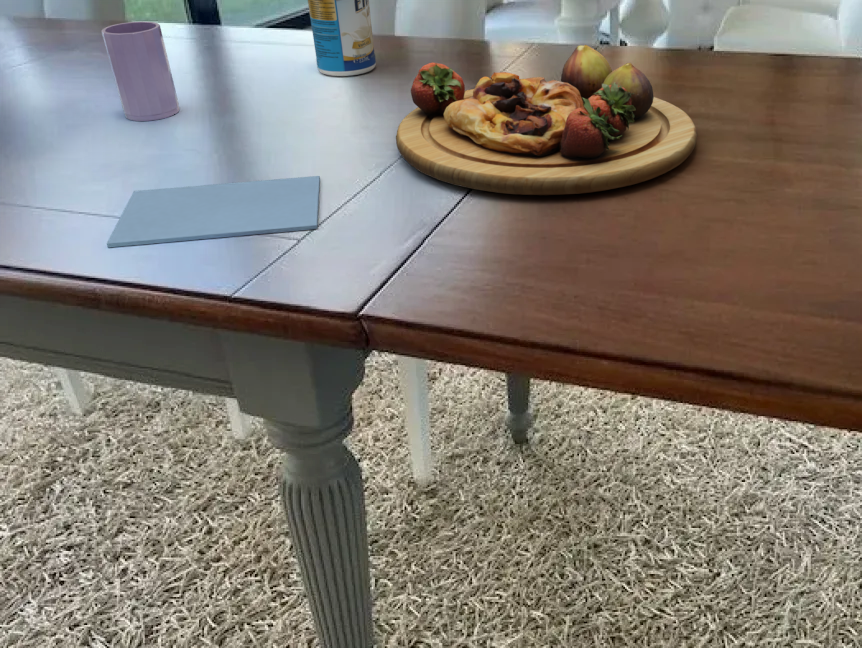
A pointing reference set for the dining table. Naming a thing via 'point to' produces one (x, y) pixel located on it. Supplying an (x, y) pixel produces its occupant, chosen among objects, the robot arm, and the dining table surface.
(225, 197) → the light blue flat slab
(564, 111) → the wooden plate
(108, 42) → the cup
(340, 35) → the beverage bottle
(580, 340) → the dining table surface
